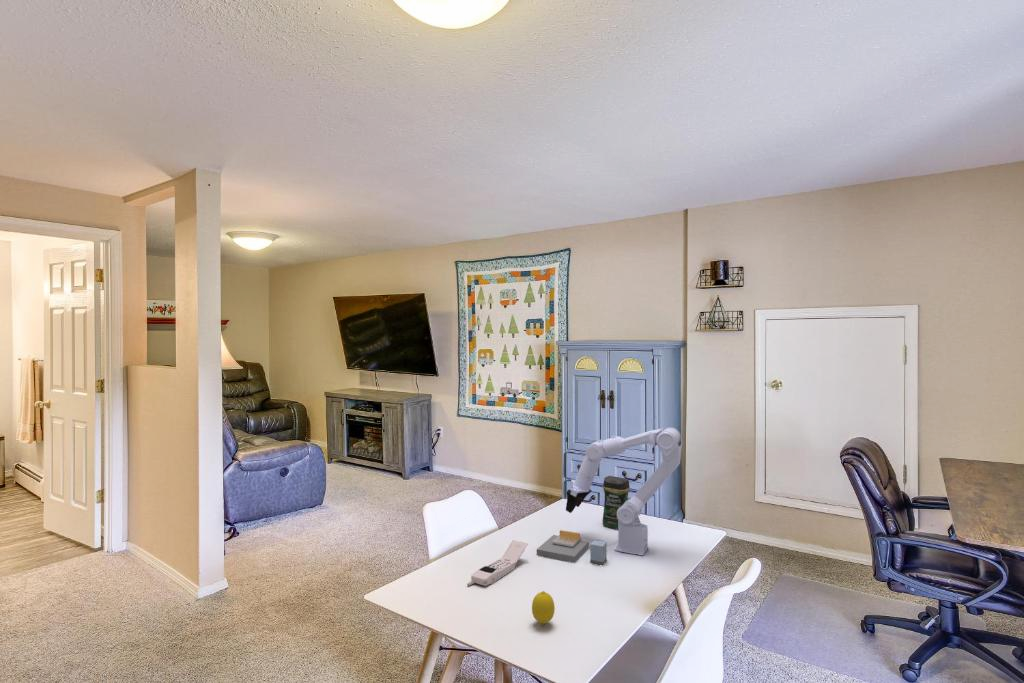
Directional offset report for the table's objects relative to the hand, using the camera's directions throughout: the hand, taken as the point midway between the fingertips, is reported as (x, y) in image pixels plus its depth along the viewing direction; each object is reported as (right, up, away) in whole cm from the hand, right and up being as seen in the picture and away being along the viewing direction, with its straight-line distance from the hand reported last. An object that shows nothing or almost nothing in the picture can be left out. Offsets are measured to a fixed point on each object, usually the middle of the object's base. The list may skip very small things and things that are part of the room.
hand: (572, 508), depth 187 cm
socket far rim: (-7, -11, -7) cm, 14 cm away
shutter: (-3, -8, -9) cm, 12 cm away
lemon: (-14, -11, -57) cm, 60 cm away
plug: (+6, -11, -20) cm, 23 cm away
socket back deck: (-6, -11, -14) cm, 19 cm away
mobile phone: (-25, -11, -28) cm, 39 cm away
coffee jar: (+18, -11, +13) cm, 25 cm away
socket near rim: (+1, -11, -11) cm, 15 cm away
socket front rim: (-1, -11, -5) cm, 12 cm away
